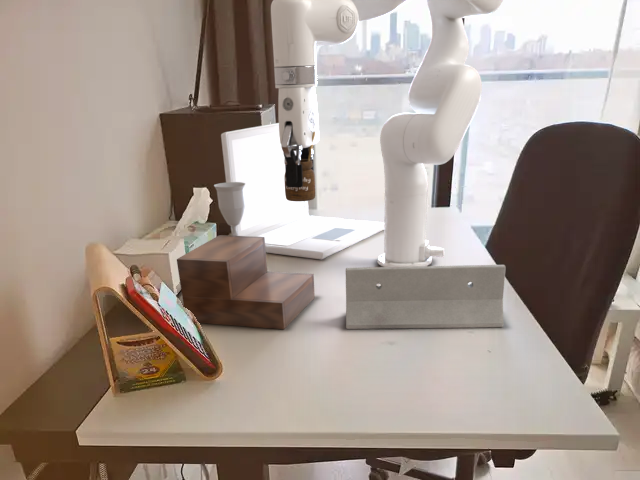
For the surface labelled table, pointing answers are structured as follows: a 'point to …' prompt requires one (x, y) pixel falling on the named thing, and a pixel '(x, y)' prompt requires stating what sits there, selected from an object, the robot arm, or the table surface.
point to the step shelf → (241, 285)
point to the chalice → (231, 202)
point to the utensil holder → (308, 182)
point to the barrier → (425, 297)
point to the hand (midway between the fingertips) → (300, 183)
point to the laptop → (282, 200)
